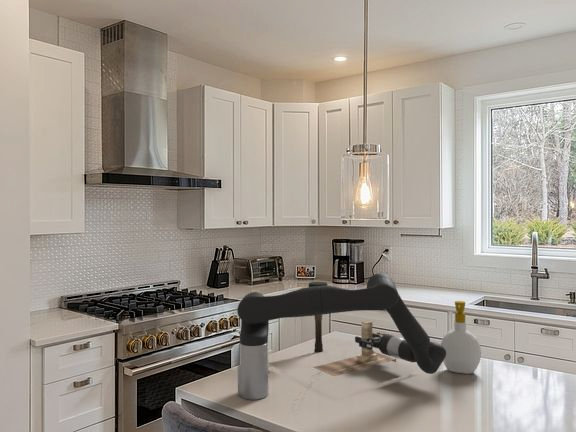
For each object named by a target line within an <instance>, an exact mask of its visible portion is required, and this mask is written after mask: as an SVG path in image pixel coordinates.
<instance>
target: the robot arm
mask: <svg viewBox="0 0 576 432" xmlns="http://www.w3.org/2000/svg"><path fill="white" fill-rule="evenodd" d="M237 305H238V306H237V308H236V309H237V311H236V313H237V315H238V318H239V319H240V333H239V365H238V366H237V396H240V397H241V398H243V399H244V400H245V399H246V400H251V401H252V400H253V401H254V400H260V399H261V400H262V399H264V398H266V397H267V396H268V395H269V330H270V329H269V324H270V323H269V321H273V320H278V319H284V318H285V319H286V318H302V317H315V315H322V316H324V315H330V314H337V313H347V312H348V313H349V312H359V311H361V312H362V311H385V310H386V311H387V313H388V315H389V316H390V318H391V319H392V321H393V323H394V324H395V326H396V328H397V330H398V332H400V334H401V336H402V337H400V336H398V335H397V336H396V335H392V334H389V333H383V334H381V333H380V334H379V333H374V332H372V338H370V337H368V338H367V339H366V338H362V336H361V337H360V336H354V343H357V344H358V346H359V347H361V348H362V347H363V348H366V349H370V350H371V349H372V347H373V348H374V349H379V352H380V354H382V355H386V356H389V357H392V358H395V359H400V360H404V361H406V362H410V363H416V364H417V367H418V368H419V369H420V370H421V371H423V372H424V373H425V374H428V375H429V374H430V375H432V374H435V373H436V372H437V371H438V369H439V368H440V367H441V365H442V363H444V362H443V360H444V359H445V357H446V350H445V348H444V347H443V346H442V345H441V343H438V342H435V341H431V338H430V336H429V335H428V333H427V332H426V330H425V329H424V327H423V326H422V325H421V324H420V322H419V321H418V320H417V319H416V317H415V316H414V314H412V312H411V311H410V309H409V308H408V306H407V305H406V304H405V302H404V301H403V299H402V297H401V296H400V294H399V291H398V289H397V286H396V284H395V282H394V280H393V279H392V278H391V277H390V276H389V275H387V274H384V273H379V272H378V273H375V274H372V275H371V276H370V277H369V278H368V280H367V282H366V287H365V288H360V289H359V288H358V289H348V288H342V287H338V286H333V285H327V286H326V285H324V286H314V287H309V286H308V287H302V288H299V289H296V290H292V291H289V292H286V293H282V294H279V295H268V296H267V295H264V294H262V293H261V292H257V291H253V292H249V293H247V294H246V295H245V296H244V297H243V298H242V299H241V300H239V303H238V304H237ZM370 340H371V342H370Z"/></svg>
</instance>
